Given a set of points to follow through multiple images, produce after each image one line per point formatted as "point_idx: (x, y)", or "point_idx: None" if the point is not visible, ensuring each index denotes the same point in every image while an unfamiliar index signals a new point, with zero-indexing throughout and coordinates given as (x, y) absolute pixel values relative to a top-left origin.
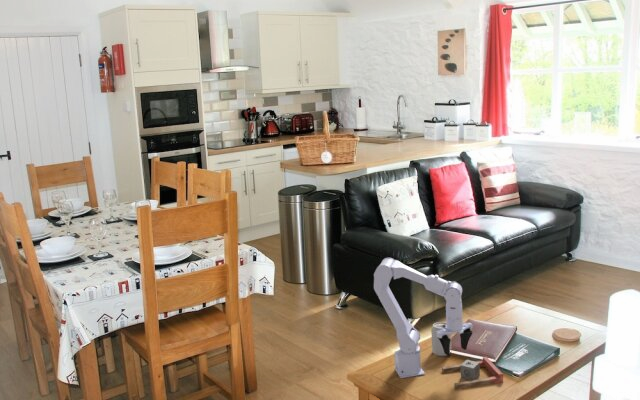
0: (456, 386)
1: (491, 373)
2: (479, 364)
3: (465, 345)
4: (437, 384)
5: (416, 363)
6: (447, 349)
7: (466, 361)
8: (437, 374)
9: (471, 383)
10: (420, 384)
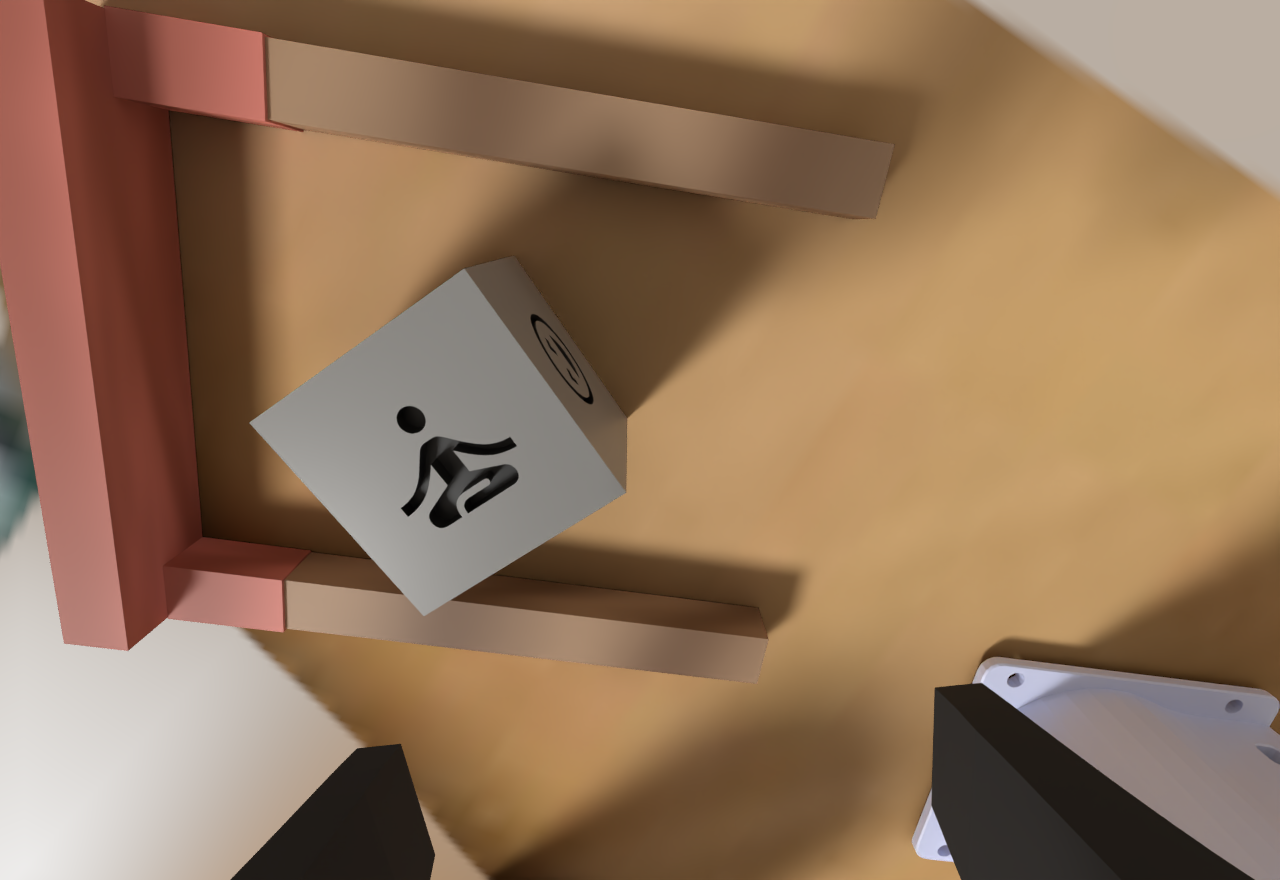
0: (878, 145)
1: (179, 322)
2: (251, 566)
3: (321, 862)
4: (1003, 390)
5: (1191, 810)
6: (1177, 830)
7: (460, 558)
8: (846, 603)
9: (627, 100)
10: (1178, 482)
